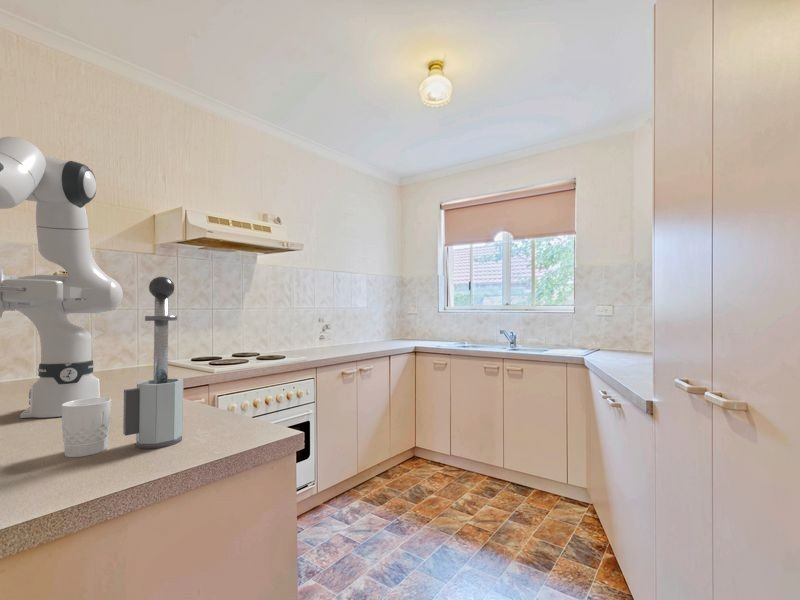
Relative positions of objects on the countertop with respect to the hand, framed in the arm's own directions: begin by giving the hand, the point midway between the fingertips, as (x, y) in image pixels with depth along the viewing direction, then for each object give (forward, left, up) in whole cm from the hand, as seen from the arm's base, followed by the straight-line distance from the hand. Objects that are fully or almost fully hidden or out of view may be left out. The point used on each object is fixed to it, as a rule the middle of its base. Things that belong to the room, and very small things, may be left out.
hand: (89, 295), depth 78 cm
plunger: (+1, +12, -21) cm, 25 cm away
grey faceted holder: (+1, +11, -31) cm, 33 cm away
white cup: (-3, 0, -32) cm, 32 cm away
